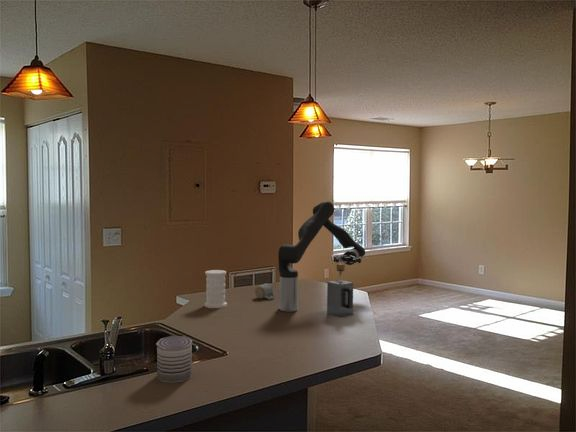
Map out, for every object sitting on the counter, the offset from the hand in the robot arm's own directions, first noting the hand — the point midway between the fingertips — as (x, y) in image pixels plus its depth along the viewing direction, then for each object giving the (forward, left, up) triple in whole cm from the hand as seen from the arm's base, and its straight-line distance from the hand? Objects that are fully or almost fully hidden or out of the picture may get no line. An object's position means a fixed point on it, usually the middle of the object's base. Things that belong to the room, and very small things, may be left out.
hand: (345, 261), depth 262 cm
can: (+32, -112, -25) cm, 119 cm away
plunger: (+6, -10, -20) cm, 23 cm away
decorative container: (-46, -50, -25) cm, 72 cm away
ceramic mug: (-44, -18, -25) cm, 54 cm away
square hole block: (+8, -10, -25) cm, 28 cm away
